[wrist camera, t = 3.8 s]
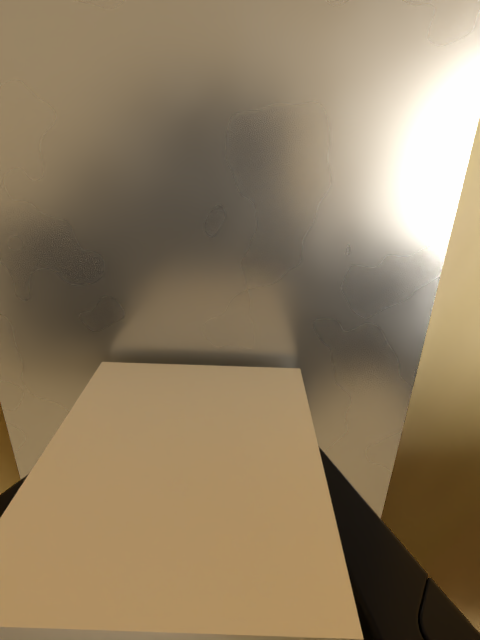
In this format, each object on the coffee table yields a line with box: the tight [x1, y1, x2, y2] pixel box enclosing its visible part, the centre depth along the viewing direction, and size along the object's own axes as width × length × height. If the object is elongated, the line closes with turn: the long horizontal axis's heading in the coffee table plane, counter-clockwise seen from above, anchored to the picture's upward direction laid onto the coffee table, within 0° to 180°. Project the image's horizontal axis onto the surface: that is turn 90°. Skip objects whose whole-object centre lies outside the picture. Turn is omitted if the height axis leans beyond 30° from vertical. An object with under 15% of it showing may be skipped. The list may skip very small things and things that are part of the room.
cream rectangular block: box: [0, 362, 364, 640], centre depth 8 cm, size 9×4×5 cm, turn 178°
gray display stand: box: [0, 0, 480, 519], centre depth 8 cm, size 24×9×6 cm, turn 178°
